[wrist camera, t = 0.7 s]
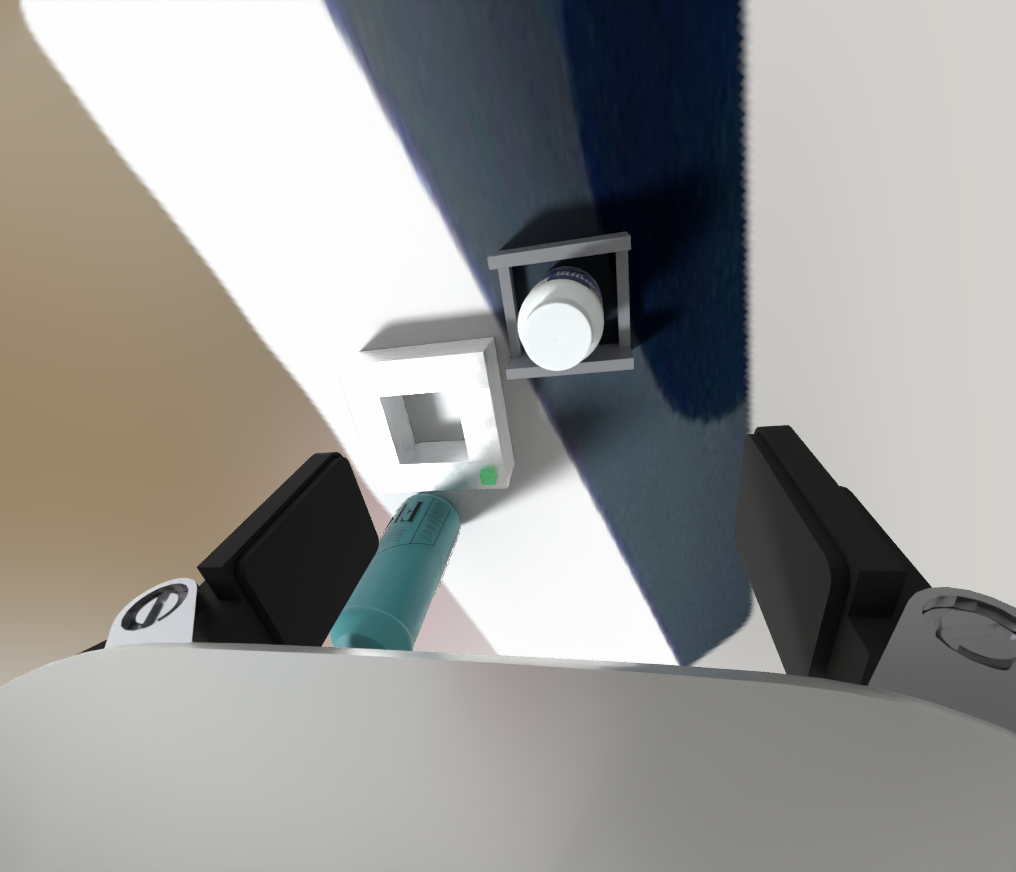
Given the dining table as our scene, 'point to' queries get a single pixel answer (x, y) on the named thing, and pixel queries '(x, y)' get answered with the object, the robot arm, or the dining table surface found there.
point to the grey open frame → (504, 260)
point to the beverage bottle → (400, 578)
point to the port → (387, 429)
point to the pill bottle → (561, 319)
